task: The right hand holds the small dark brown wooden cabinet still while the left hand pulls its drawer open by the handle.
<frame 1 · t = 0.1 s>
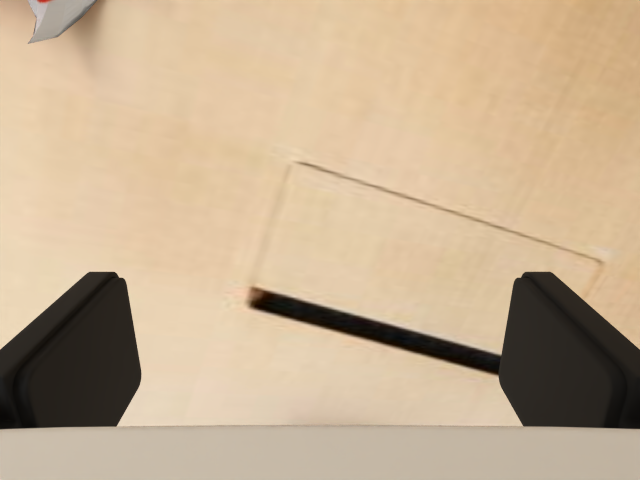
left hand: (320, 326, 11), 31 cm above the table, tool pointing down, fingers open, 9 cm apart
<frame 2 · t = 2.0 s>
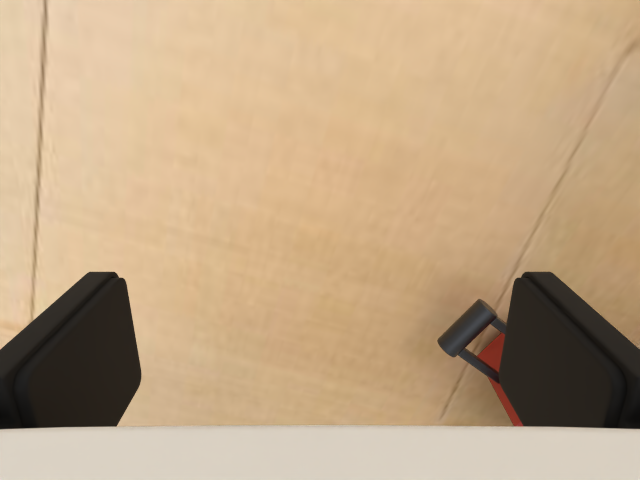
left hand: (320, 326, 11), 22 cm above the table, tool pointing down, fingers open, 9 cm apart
drawer: (559, 397, 33), point 5 cm above the table, slide at 1.9 cm
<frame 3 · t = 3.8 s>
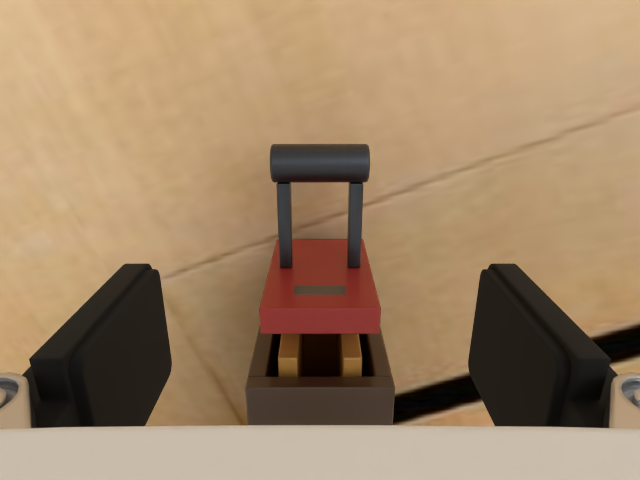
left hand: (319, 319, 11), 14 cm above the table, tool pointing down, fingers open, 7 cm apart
cabinet: (319, 389, 30), on the table, touching right hand
drawer: (320, 347, 23), point 5 cm above the table, slide at 1.9 cm
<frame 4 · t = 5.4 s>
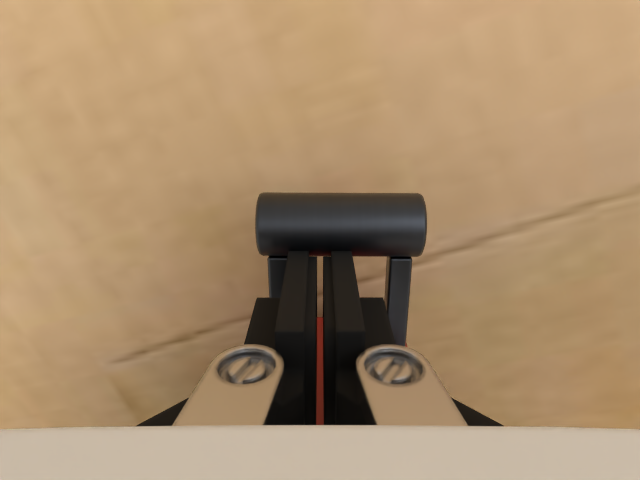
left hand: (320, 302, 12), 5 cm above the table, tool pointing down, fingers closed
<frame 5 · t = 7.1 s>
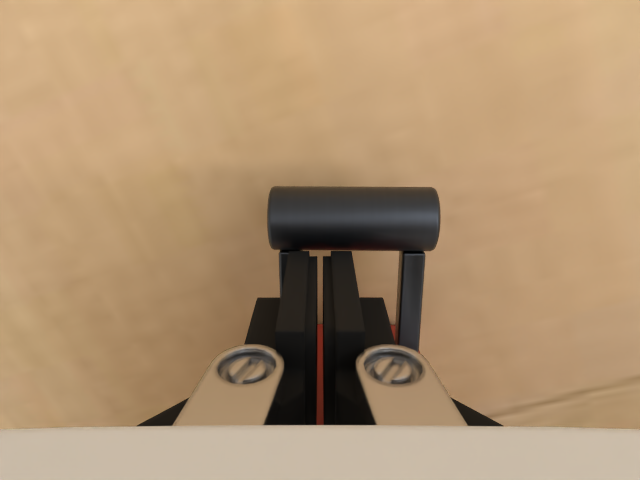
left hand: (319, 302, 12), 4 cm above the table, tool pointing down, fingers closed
when the right hand's fingers open (6 cm above the table, at t = 8.8 s): cabinet stays where it is, on the table.
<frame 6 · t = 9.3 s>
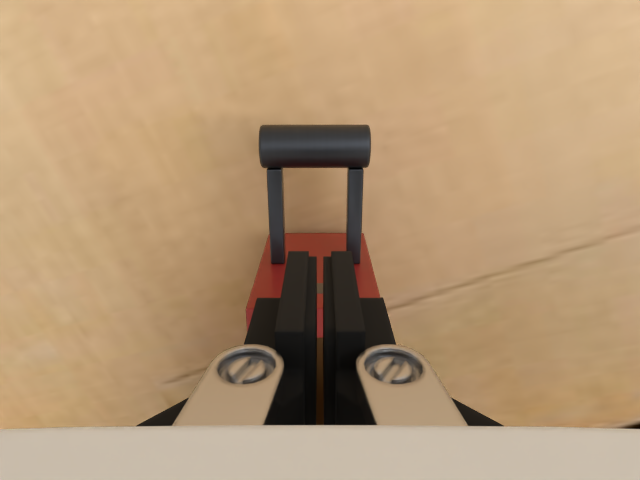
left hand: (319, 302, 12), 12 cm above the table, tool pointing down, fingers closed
drawer: (316, 351, 21), point 5 cm above the table, slide at 9.0 cm
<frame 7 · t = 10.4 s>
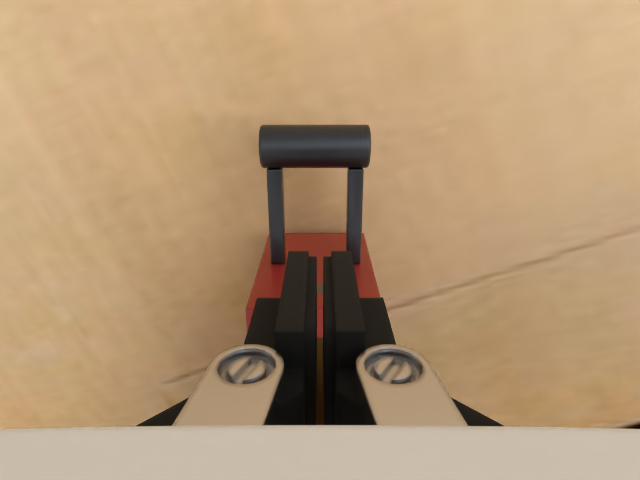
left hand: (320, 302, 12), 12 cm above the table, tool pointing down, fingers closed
drawer: (316, 351, 21), point 5 cm above the table, slide at 9.0 cm
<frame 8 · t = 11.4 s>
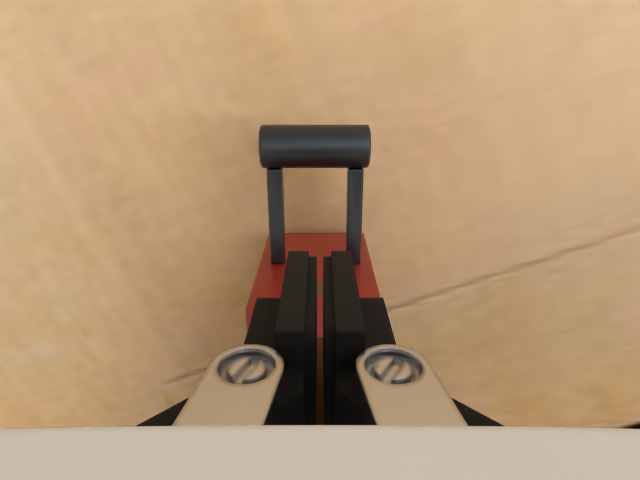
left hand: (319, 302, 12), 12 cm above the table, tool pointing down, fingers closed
drawer: (316, 351, 21), point 5 cm above the table, slide at 9.0 cm
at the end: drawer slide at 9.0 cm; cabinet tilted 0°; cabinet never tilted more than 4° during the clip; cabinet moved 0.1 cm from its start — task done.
